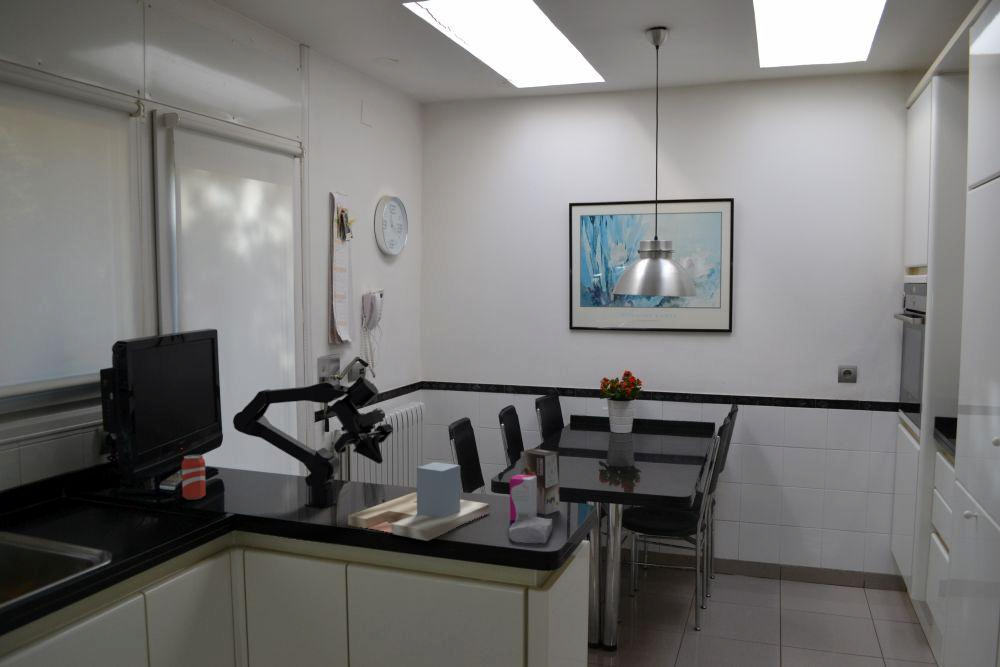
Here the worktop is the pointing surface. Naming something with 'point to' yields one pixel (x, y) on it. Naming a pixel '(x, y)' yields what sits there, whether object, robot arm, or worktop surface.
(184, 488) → the beverage can
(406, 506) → the trap board
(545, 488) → the coffee box
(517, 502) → the supplement box
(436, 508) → the slate block
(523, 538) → the stone block
